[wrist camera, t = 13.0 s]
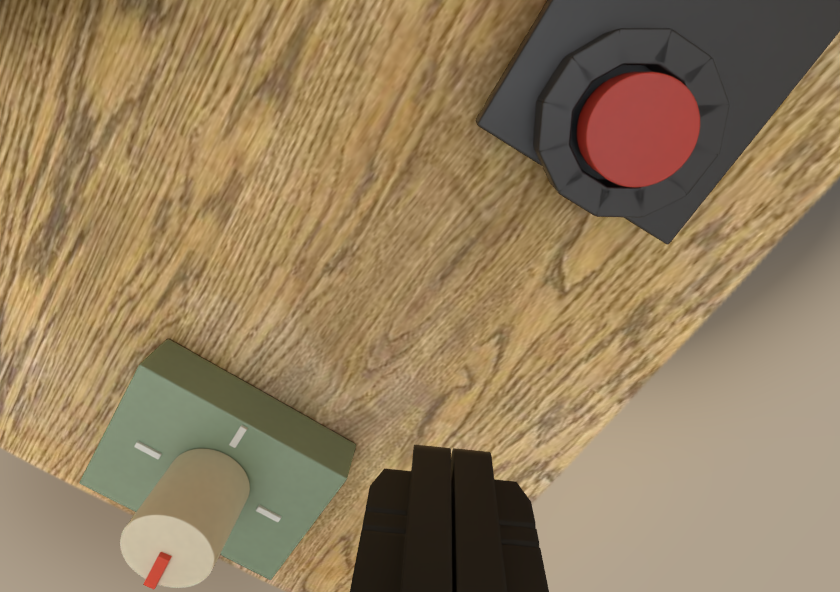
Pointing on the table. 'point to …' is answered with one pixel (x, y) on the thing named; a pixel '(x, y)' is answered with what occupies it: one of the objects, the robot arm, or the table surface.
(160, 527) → the dial knob
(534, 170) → the table surface
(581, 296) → the table surface
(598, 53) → the button box
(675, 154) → the button
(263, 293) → the table surface
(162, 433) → the dial panel
